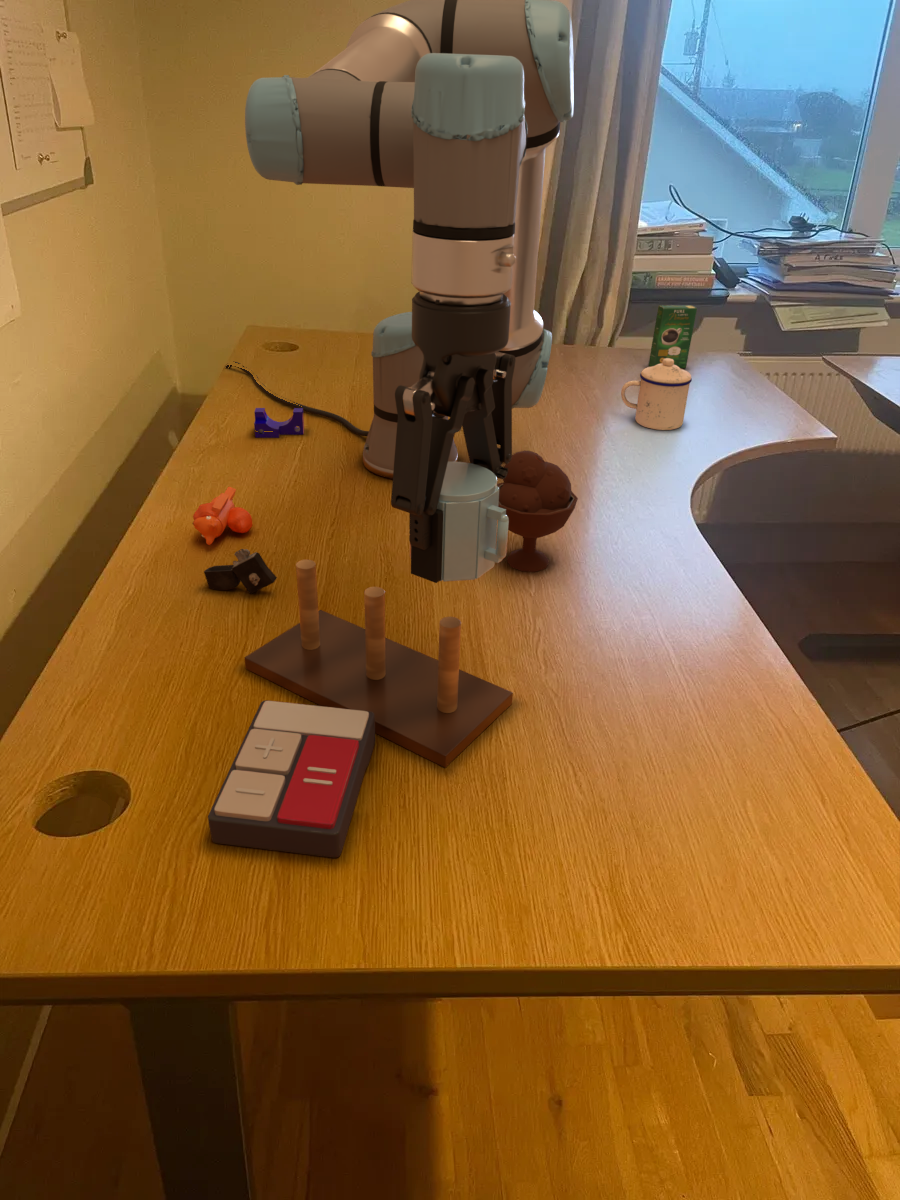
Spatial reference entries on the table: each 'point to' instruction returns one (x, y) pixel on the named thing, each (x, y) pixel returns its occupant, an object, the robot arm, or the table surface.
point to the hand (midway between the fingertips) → (452, 558)
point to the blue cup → (471, 522)
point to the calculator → (295, 779)
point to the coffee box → (672, 334)
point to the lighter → (241, 573)
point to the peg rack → (381, 675)
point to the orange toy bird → (221, 517)
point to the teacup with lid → (660, 396)
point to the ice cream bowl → (534, 505)
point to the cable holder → (278, 424)
